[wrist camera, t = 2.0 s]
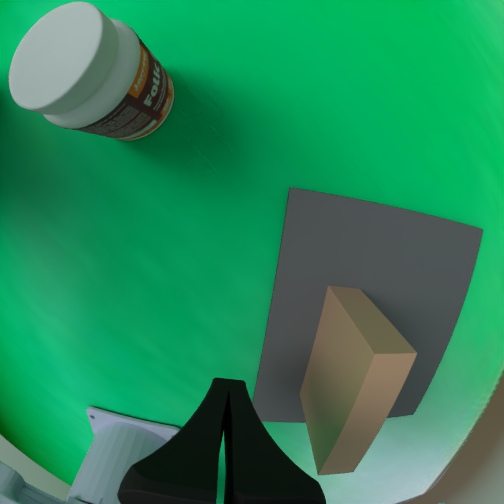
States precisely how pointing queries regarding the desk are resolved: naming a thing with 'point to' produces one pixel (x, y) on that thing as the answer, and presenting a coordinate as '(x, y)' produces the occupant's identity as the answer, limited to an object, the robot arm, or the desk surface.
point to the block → (351, 379)
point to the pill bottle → (90, 75)
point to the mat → (362, 288)
